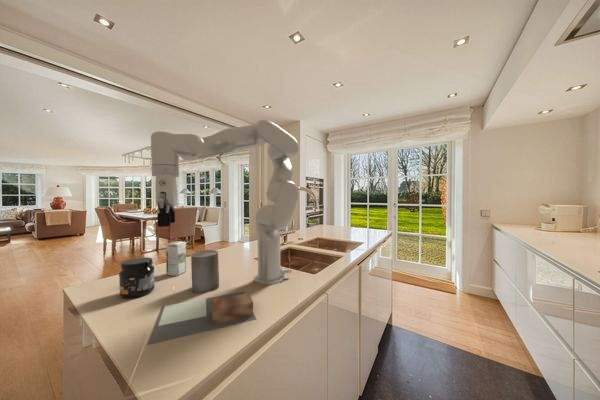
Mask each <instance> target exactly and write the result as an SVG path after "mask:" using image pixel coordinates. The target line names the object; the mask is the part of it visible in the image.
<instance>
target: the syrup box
mask: <svg viewBox="0 0 600 400" xmlns="http://www.w3.org/2000/svg"><path fill="white" fill-rule="evenodd" d="M165 248H166V251H165V252H166V255H165V256H166V258H165V259H166V260H165V262H166V265H165V266H166V269H165V272H166V274H165V275H166V276H167V275H171V276H172V277H178V276H180V275H182V274H184V273H186V272H187V271H186V270H187V269H186V268H187V267H186V266H187V262H186V261H187V255H186V254H187V251H186V250H187V249H186V248H187V244H186V241H178V240H177V241H171V242H170V243H166V247H165ZM171 276H170V277H171Z"/></svg>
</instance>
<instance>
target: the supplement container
mask: <svg viewBox="0 0 600 400" xmlns="http://www.w3.org/2000/svg"><path fill="white" fill-rule="evenodd" d="M153 263H154V262H153V258H152V257H147V256H146V257H136V258H135V257H134V258H131V259H126V260H124V261H122V262H120V265H119V266H120V271H119V272H118V278H119V279H118V280H119V296H120V297H121V298H122V299H136V298H140V297H144V296H146V295H148V294H150V293H151V292H152V291H154V289H155V288H156V287H155V266H154V265H153Z"/></svg>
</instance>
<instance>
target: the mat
mask: <svg viewBox="0 0 600 400" xmlns="http://www.w3.org/2000/svg"><path fill="white" fill-rule="evenodd" d="M242 294H246V292H245V291H239V292H235V293H229V294H228V293H227V294H224V295H223V294H222V295H217V296H213V297H212V296H211V297H207V298H201V299H195V300H190V301H183V302H179V303H174V304H168V305H167V304H166V305H162V306H161V307H160V310H159V313H158V315H157V317H156V321H155V324H154V326H153V328H152V331H151V334H150V337H149V339H148V341H147V344H146V345H147V346H149V345H150V346H151V345H153V344H157V343H161V342H166V341H171V340H174V339H178V338H179V339H180V338H183V337H187V336H191V335H195V334H200V333H205V332H209V331H214V330H218V329H221V328H225V327H230V326H233V325H238V324H239V325H240V324H242V323H246V322H250V321H255V320H257V318H256V315H255V312H254V311H253V316H249V317H245V318H240V319H236V320H232V321H227V322H223V323H218V324H214V325H213V322H212V300H213V299H218V298H225V297H231V296H236V295H242Z"/></svg>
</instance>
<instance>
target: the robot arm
mask: <svg viewBox="0 0 600 400" xmlns="http://www.w3.org/2000/svg"><path fill="white" fill-rule="evenodd" d="M266 144H269V145H268V149H267V154H268V156H269V158H270V160H271V162H272V164H273V172H272V176H271V178H270V181H269V183H268V187H267V190H266V193H265V194H266V199H267V200H268V201H269V202H270V203H273V204H265V205H262V206H260V207H259V208H258V209H257V211H256V213H255V224H256V232H257V233H256V234H257V274H256V275H255V276H254V280H253V281H254V282H255V283H256V284H260V285H269V286H270V285H275V284H279V283H282V282H283V281H284V280H285V274H292V268H287V267H281V233H280V231H281V230H285V229H286V228H288V226H289V224H291V220H292V219H293V215H294V212H295V209H296V206H297V203H298V199H299V188H298V186H297V184H296V183H295V182H294V181H292V178H293V173H294V170H293V166H292V163H291V160H290V158H294V157H295V156H296V155H297V154H298V152H299V150H300V149H299V148H300V147H299V145H300V144H299V142H298V141H297V139H296V138H295V137H294V136H293V135H292V134H290V133H288V131H286V130H285V129H283V128H281V127H280V126H279V125H277V124H276V123H274V122H272V121H271V120H268V119H260V120H259V121H257V122H255V123H254V124H250V125H243V126H242V125H241V126H236V127H229V128H225V129H222V130H220V131H217V132H215V133H214V134H211V135H208V136H204V137H200V136H199V135H197V134H195V133H172V132H167V131H162V130H161V131H160V130H159V131H154V132H152V133H151V134H150V151H151V152H150V153H151V156H150V157H151V176H152V177H155V181H154V182H155V185H154V187H155V189H154V190H155V191H154V192H155V205H156V206H157V214H156V215H157V227H161V228H162V227H170V226H171V224H174V223H176V211H175V207H177V206H178V204H179V202H178V201H179V200H178V185H177V184H178V183H177V178H178V177H179V178H180V164H179V161H180V160H179V157H180V158H181V159H182V160H185V161H195V160H201V159H205V158H209V157H213V156H214V157H215V156H218V155H222V154H223V155H225V154H229V153H233V152H237V151H242V150H247V149H251V148H257V147H260V146H261V147H262V146H264V145H266Z"/></svg>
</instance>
